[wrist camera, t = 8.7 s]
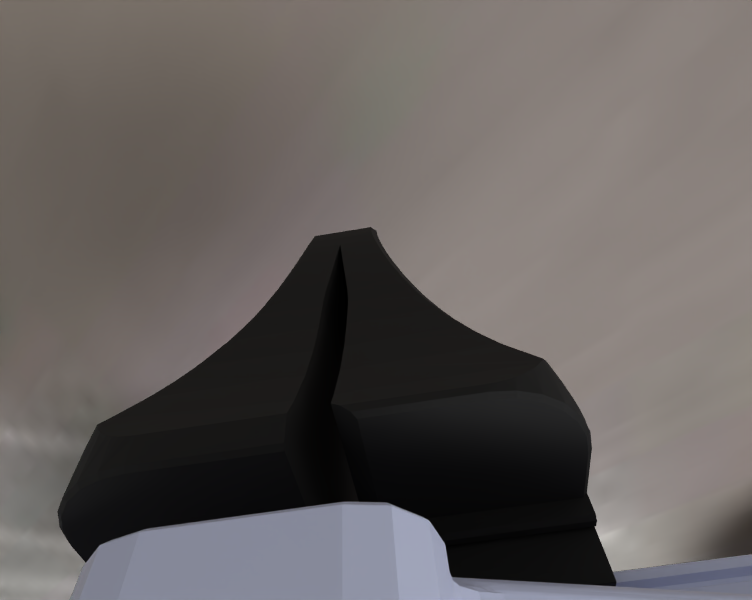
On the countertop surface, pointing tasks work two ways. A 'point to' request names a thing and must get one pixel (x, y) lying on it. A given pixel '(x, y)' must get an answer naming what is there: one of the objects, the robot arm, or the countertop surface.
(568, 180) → the countertop surface
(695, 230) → the countertop surface
